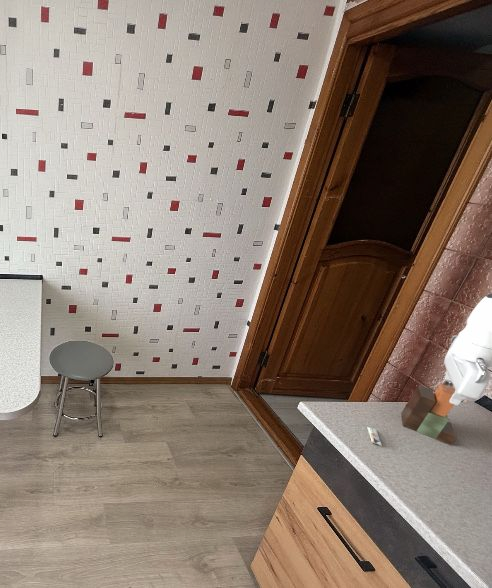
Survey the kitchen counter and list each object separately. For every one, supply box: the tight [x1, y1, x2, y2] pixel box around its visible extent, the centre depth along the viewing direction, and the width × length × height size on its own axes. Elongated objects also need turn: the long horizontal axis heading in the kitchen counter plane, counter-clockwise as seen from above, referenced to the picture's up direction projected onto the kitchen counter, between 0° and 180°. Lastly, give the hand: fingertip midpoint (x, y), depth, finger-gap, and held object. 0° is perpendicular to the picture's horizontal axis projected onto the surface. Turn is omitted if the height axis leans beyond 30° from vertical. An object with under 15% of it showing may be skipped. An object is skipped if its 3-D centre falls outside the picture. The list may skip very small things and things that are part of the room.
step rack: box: [400, 384, 457, 446], centre depth 94 cm, size 10×7×11 cm
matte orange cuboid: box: [430, 383, 455, 417], centre depth 92 cm, size 3×5×7 cm, turn 140°
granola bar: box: [366, 426, 382, 447], centre depth 91 cm, size 7×2×1 cm, turn 150°
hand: (449, 394), depth 91 cm, fingers open, 8 cm apart
